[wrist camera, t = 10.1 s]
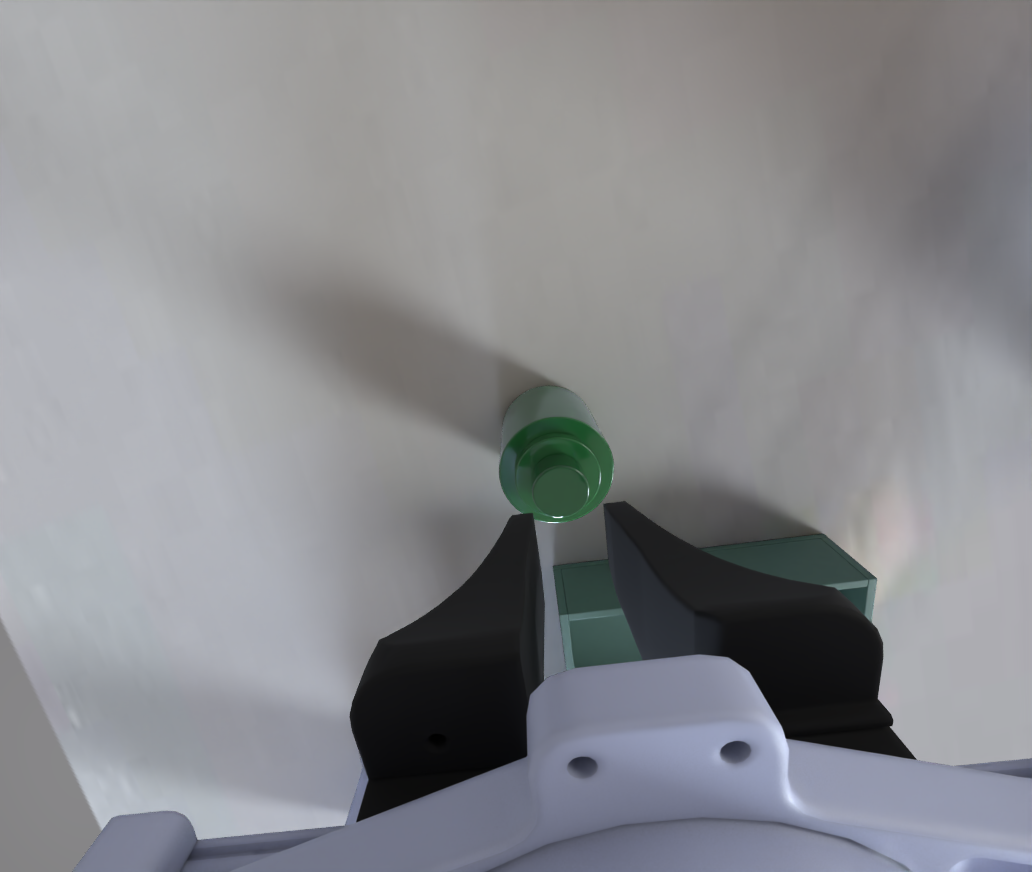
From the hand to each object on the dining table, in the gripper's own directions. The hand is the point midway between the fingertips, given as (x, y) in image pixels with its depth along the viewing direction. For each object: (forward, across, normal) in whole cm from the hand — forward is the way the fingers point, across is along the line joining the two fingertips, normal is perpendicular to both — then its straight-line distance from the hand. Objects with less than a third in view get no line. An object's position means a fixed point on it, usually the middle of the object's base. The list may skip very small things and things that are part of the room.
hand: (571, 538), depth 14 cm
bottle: (+10, 0, 0) cm, 10 cm away
